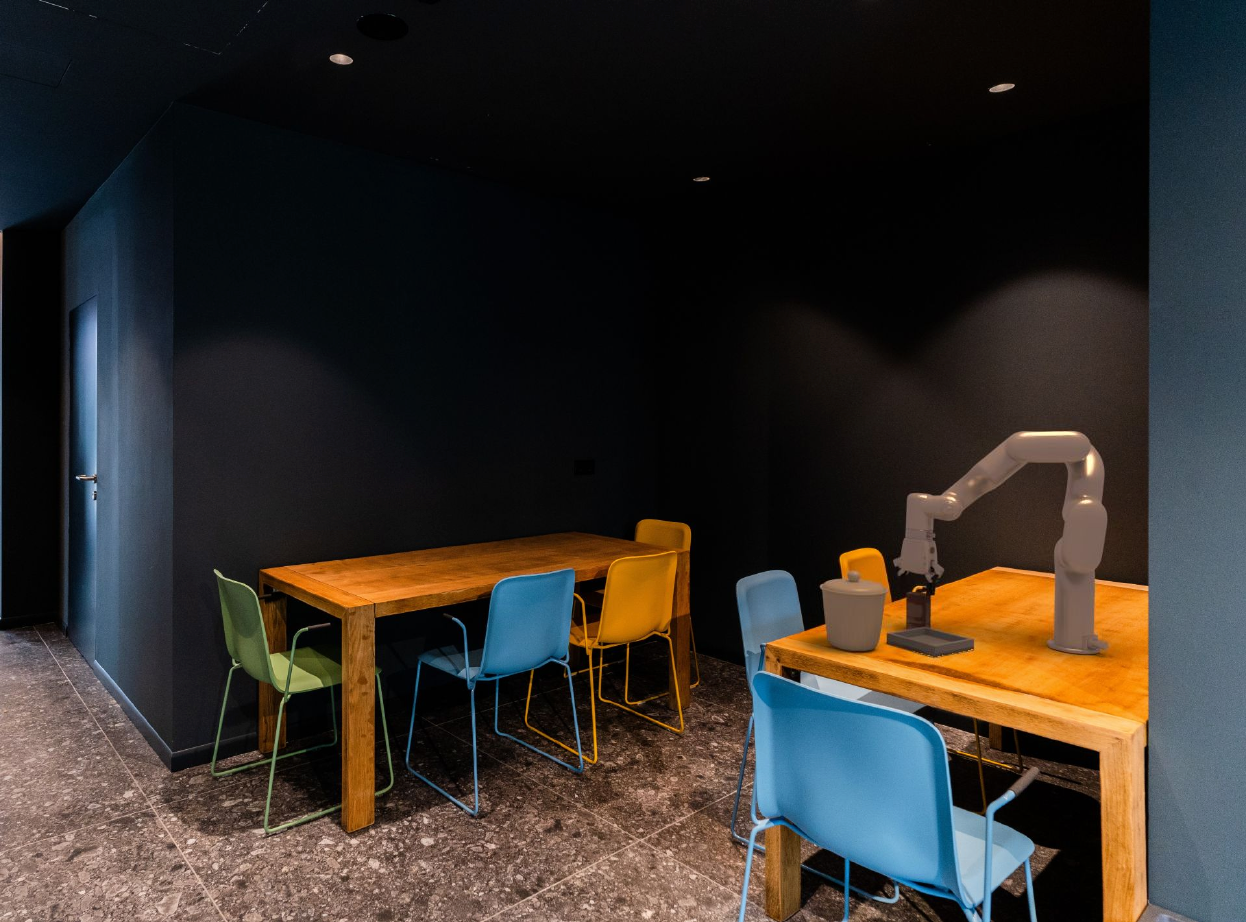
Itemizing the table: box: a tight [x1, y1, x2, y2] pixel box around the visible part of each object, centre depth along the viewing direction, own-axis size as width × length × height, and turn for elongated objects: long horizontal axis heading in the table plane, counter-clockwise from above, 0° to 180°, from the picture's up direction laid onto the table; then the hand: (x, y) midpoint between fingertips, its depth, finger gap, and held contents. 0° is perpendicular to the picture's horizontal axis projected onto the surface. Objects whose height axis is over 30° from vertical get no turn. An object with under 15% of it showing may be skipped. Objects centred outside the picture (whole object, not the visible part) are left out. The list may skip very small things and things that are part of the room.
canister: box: [819, 570, 889, 652], centre depth 209 cm, size 18×18×21 cm
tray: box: [886, 627, 975, 658], centre depth 209 cm, size 16×16×3 cm
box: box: [905, 591, 932, 630], centre depth 225 cm, size 6×4×12 cm
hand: (916, 592), depth 225 cm, fingers open, 9 cm apart
